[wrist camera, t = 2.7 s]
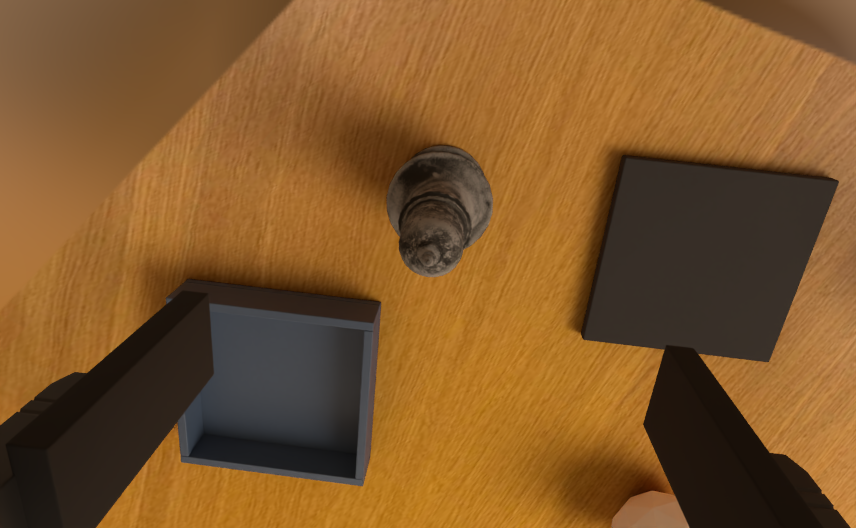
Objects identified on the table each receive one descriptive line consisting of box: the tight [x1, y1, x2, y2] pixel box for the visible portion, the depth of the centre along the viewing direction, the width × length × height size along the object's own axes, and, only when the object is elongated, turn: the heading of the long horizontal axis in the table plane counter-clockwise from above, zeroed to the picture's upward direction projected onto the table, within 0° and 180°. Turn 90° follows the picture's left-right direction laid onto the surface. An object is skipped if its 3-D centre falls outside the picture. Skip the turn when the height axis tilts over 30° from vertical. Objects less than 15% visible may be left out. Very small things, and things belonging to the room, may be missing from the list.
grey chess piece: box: [387, 146, 493, 277], centre depth 28 cm, size 6×6×12 cm
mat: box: [581, 155, 839, 362], centre depth 34 cm, size 12×12×1 cm
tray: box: [166, 279, 381, 486], centre depth 39 cm, size 13×13×3 cm
